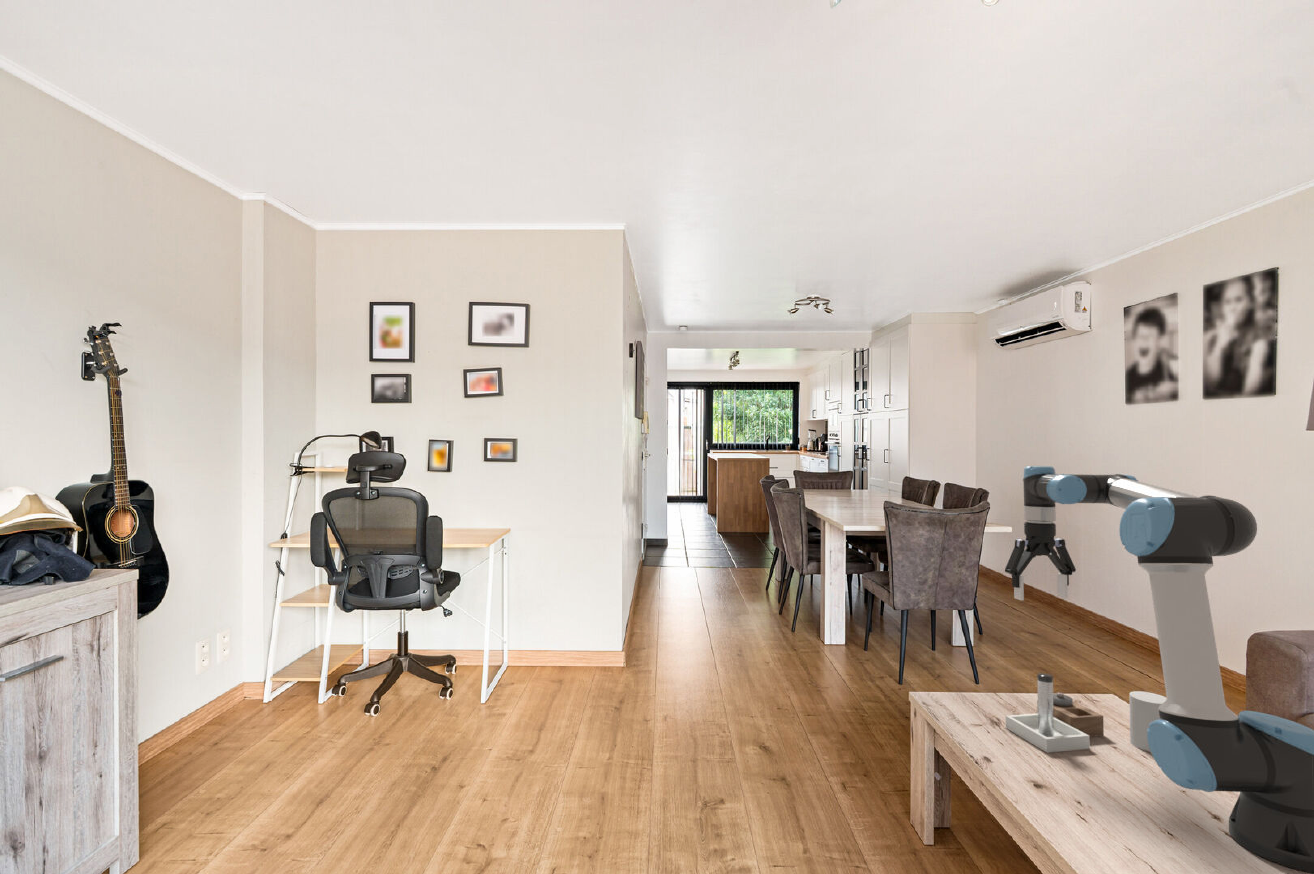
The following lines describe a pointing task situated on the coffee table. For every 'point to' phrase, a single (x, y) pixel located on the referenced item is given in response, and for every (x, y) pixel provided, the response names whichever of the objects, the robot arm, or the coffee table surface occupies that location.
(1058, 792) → the coffee table surface
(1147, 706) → the white cylinder
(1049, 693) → the pin
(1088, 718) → the block
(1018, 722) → the tray
